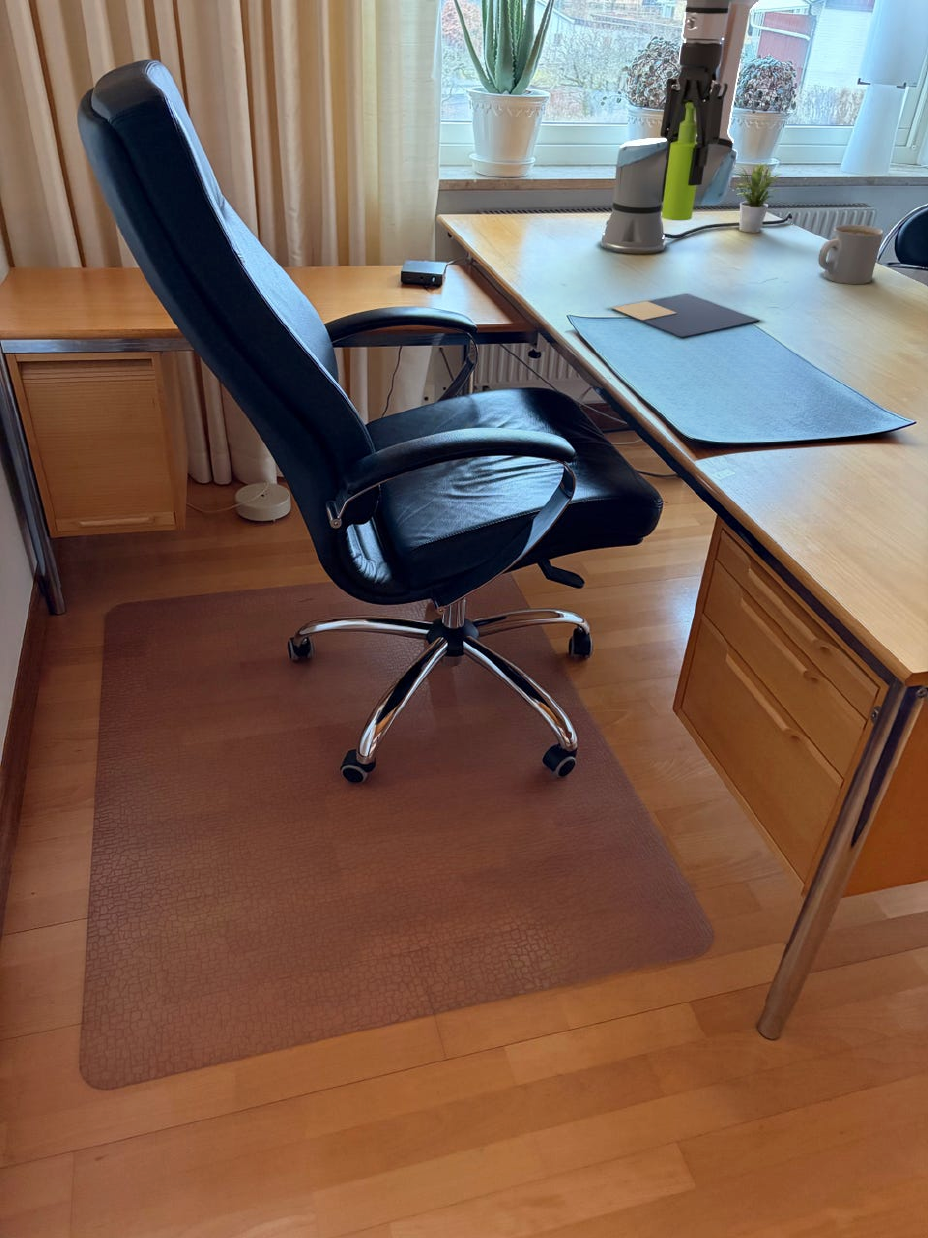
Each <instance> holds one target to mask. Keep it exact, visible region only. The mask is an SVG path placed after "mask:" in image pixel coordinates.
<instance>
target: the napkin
mask: <svg viewBox="0 0 928 1238" xmlns="http://www.w3.org/2000/svg"><path fill="white" fill-rule="evenodd" d="M611 310H612V311H614V312H617V313H618V314H622V315H623V316H626V317H628V318H631V319H634V320H636V321H637V322H641V323H643V324H645V325H647V326H651V327H653V328H655V329H657V330H661V331H663V332H665V333H668V334H669V335H673V336H675V337H677V338H679V339H685V338H691V337H695V336H699V335H704V334H708V333H713V332H717V331H718V332H719V331H722V330H726V329H731V328H735V327H740V326H746V325H751V324H754V323H755V324H756V323H758V322H760V319H757V318H755V317H753V316H749V315H746V314H744V313H741V312H738V311H736V310H733V309H730V308H727V307H725V306H723V305H722V306H721V305H718V304H716V303H713V302H710V301H708V300H705V299H703V298H699V297H697V296H694V295H692V294H688V293H685V294H679V295H674V296H669V297H664V298H658V299H653V300H645V301H640V302H633V303H629V304H624V305H619V306H613V307H611Z"/></svg>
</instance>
